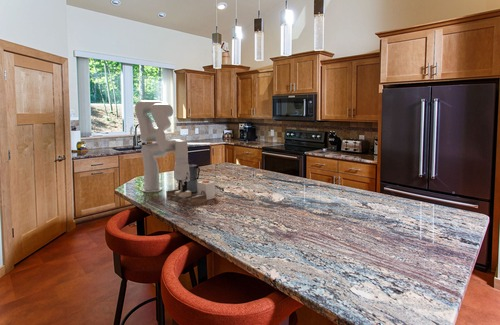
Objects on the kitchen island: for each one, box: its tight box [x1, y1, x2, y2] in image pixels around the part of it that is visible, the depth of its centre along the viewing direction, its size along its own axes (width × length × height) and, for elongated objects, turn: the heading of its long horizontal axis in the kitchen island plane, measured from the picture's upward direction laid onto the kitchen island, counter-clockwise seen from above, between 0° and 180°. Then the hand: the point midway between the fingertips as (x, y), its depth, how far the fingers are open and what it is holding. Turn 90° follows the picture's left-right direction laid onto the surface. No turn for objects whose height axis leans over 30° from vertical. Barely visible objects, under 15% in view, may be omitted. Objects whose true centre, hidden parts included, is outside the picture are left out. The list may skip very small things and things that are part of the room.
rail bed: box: [165, 188, 208, 207], centre depth 198 cm, size 24×11×4 cm, turn 49°
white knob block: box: [197, 180, 216, 201], centre depth 202 cm, size 8×8×10 cm
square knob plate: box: [175, 181, 192, 198], centre depth 199 cm, size 7×7×9 cm
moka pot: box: [187, 161, 201, 193], centre depth 217 cm, size 10×15×20 cm, turn 55°
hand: (182, 190), depth 199 cm, fingers closed on square knob plate, 3 cm apart
